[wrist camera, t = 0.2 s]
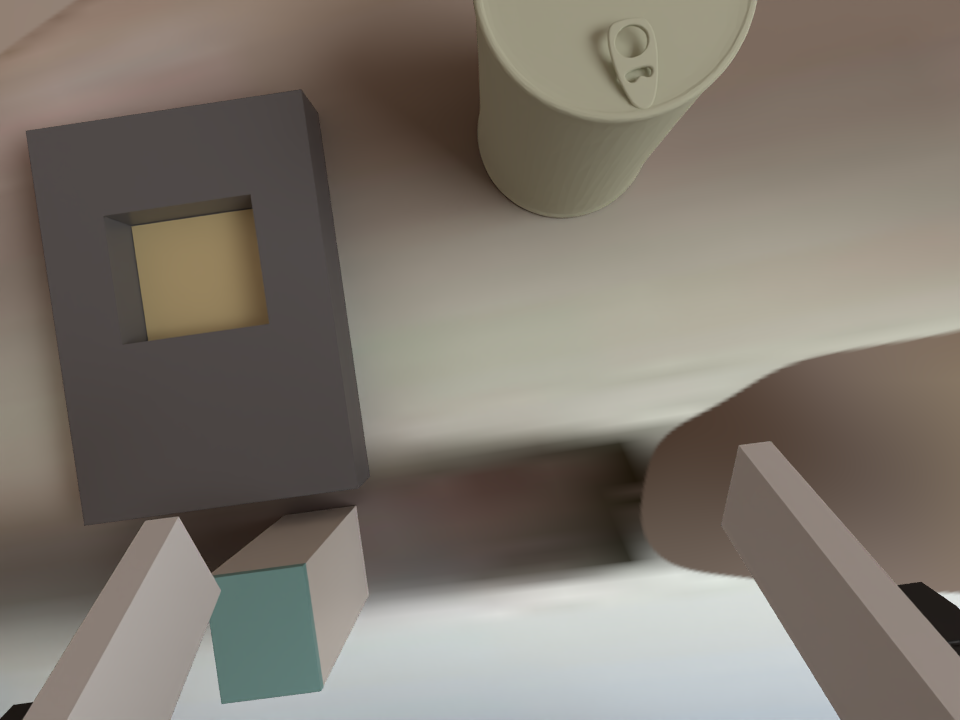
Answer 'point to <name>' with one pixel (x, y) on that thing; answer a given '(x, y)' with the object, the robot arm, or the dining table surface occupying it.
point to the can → (591, 90)
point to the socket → (198, 307)
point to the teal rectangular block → (288, 605)
